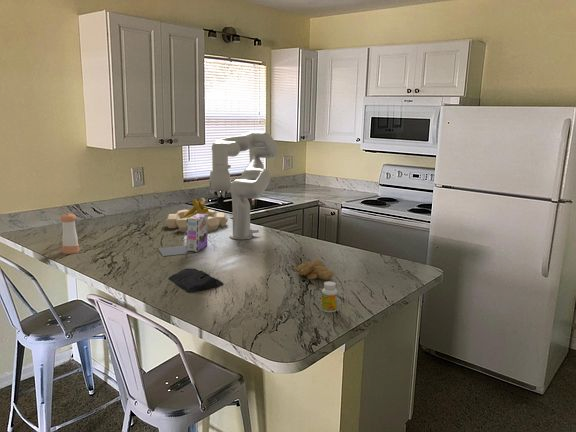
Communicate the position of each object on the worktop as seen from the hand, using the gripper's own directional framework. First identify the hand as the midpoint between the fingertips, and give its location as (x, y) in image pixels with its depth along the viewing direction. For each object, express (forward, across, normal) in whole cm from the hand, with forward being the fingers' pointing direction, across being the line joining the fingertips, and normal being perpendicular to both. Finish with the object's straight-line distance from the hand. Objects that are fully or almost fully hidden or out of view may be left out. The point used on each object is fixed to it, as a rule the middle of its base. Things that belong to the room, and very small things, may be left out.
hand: (220, 204), depth 240 cm
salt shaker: (+22, +69, -18) cm, 75 cm away
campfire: (+22, 0, -48) cm, 53 cm away
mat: (+22, +23, 0) cm, 32 cm away
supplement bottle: (+22, -11, +91) cm, 94 cm away
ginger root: (+22, -22, +58) cm, 66 cm away
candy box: (+22, +12, 0) cm, 25 cm away
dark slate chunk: (+23, +25, +46) cm, 57 cm away
